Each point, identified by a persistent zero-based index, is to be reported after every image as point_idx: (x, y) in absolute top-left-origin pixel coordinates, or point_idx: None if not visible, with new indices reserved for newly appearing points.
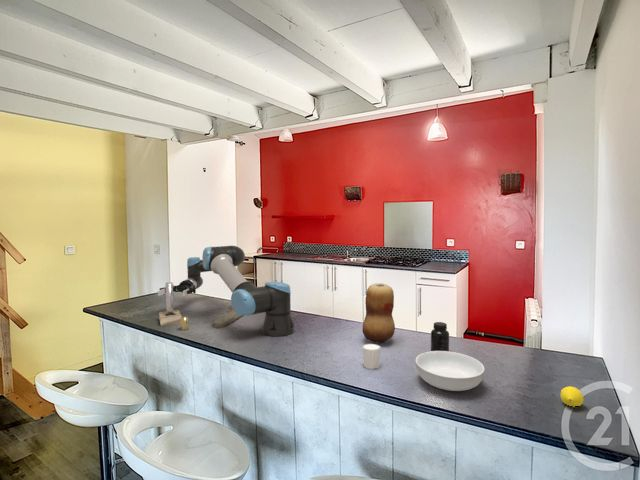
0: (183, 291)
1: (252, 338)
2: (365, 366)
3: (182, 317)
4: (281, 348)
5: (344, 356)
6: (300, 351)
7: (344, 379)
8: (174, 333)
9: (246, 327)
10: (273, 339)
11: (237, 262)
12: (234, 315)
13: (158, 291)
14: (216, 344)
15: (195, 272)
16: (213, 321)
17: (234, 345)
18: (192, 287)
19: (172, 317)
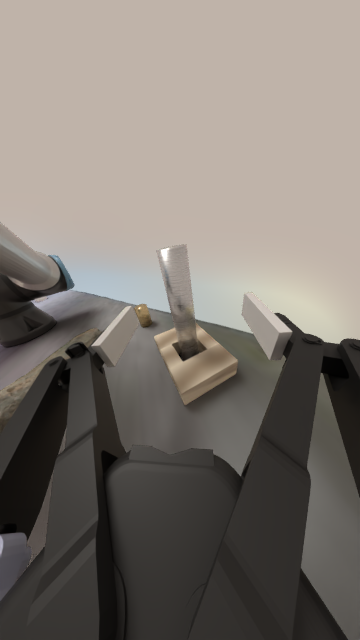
0: (129, 307)
1: (75, 315)
2: (46, 297)
3: (143, 306)
4: (67, 305)
5: (41, 304)
6: (59, 304)
7: (68, 291)
8: (157, 313)
9: (56, 339)
10: (58, 316)
11: None
12: (35, 369)
13: (247, 294)
14: (113, 303)
15: None
16: (96, 333)
17: (99, 304)
18: (16, 466)
19: (171, 329)
